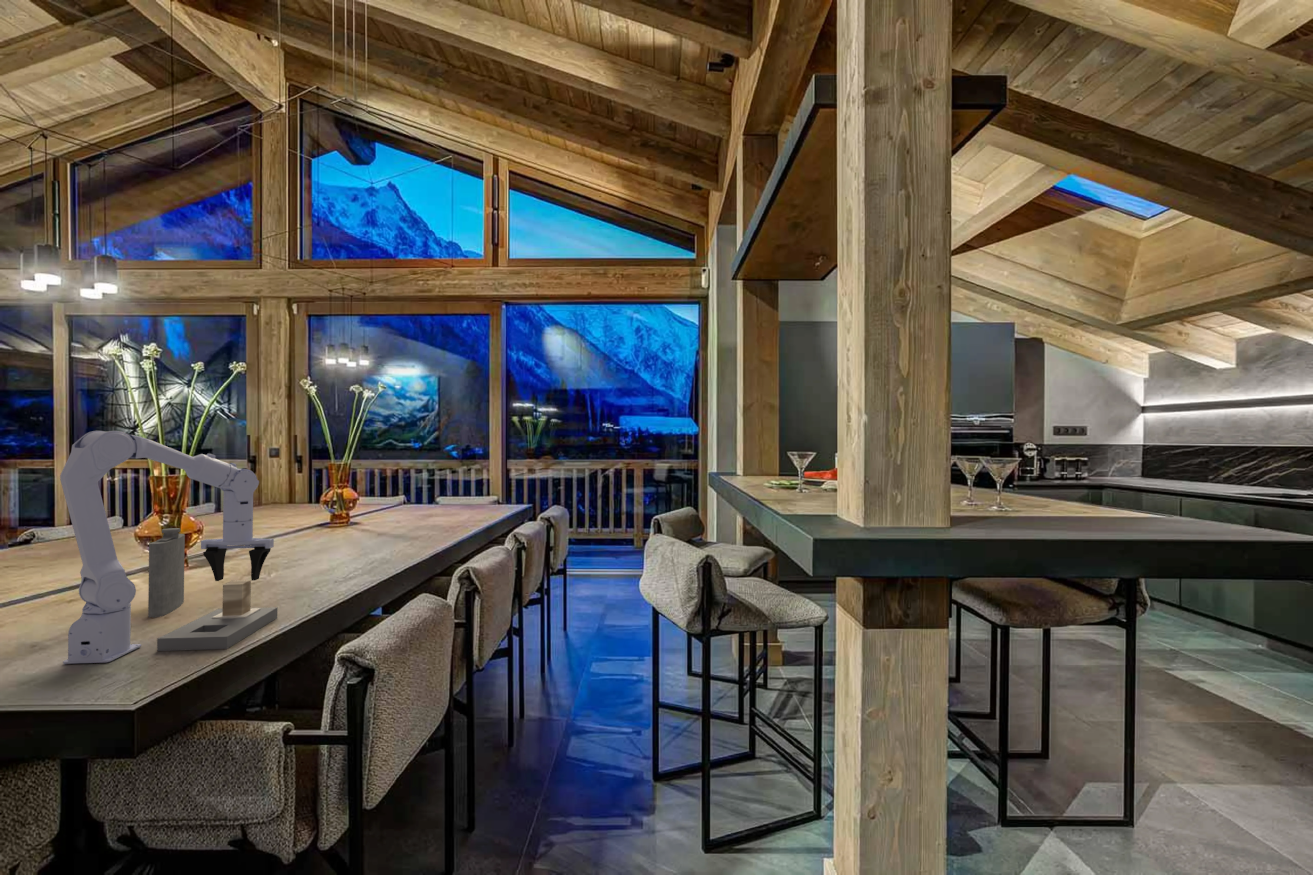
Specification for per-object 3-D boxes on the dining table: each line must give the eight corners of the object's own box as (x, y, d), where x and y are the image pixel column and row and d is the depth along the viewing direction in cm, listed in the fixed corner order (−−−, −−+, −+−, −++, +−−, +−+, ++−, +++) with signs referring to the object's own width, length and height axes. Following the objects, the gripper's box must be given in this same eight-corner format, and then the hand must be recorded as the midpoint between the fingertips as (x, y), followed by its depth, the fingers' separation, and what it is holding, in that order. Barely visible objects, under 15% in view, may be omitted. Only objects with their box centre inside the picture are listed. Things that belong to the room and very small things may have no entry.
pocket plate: (227, 648, 127) (227, 635, 127) (157, 650, 126) (157, 637, 126) (277, 617, 149) (277, 606, 149) (218, 619, 147) (218, 607, 147)
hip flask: (171, 601, 163) (172, 524, 163) (189, 600, 164) (190, 523, 164) (145, 618, 148) (146, 533, 148) (166, 616, 149) (167, 532, 149)
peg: (241, 615, 142) (242, 584, 142) (222, 615, 141) (222, 584, 141) (250, 610, 145) (250, 580, 145) (231, 610, 145) (232, 580, 145)
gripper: (280, 518, 148) (279, 575, 148) (213, 518, 146) (212, 576, 146) (265, 522, 141) (264, 582, 141) (195, 522, 139) (194, 583, 139)
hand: (237, 579), depth 143 cm, fingers open, 7 cm apart
